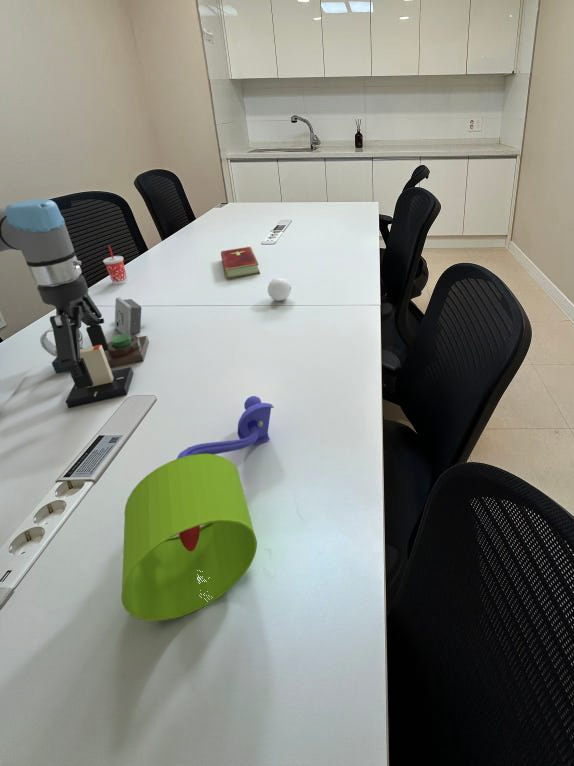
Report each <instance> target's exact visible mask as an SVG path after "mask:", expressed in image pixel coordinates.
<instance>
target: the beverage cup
mask: <svg viewBox="0 0 574 766" xmlns="http://www.w3.org/2000/svg"><path fill="white" fill-rule="evenodd" d="M107 247H108V250H109V254H110V256H109V257H106V258H104V259H103V260H102V262H103V264H104V265H105V267H106V270H107V272H108V275H109V276H110V279H111V282H112V284H113V285H122V284H124V283H126V282H128V276H127V273H126V268H125V264H124V257H123V256H122V255H113V251H112V249H111V245H108V246H107Z"/></svg>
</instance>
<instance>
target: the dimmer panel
mask: <svg viewBox="0 0 574 766" xmlns="http://www.w3.org/2000/svg"><path fill="white" fill-rule="evenodd" d="M111 372H112V375H113V377H114V379H113V381H112V382H111V383H106V384H102V385H97V386H93V387H88V388H81V389H77V388H76V385H75V383H74V384H73V386H72V388H71V390H70V392H69V394H68V396H67V397H66V400H65V403H66V406H67V408H68V409H73V408H76V407H81V406H85V405H90V404H94V403H98V402H103V401H107V400H112V399H115V398H120V397H124V396H128V393H129V390H130V386H131V383H132V380H133V377H134V371H133V368H132V366H130V367H125V368H120V369H116V370H111Z"/></svg>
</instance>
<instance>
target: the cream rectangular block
mask: <svg viewBox="0 0 574 766" xmlns="http://www.w3.org/2000/svg"><path fill="white" fill-rule="evenodd" d="M80 358H83V359H84V361H85V364H86V366H87V369H88V371H89V374H90V376H91V379H92V381H93V386H97V385H102V384H106V383H111V382H112V381H113V379H114V377H113V375H112V372H111V371H112V370H111V369H112V368H110V367H109V364H108V361H107V358H106V356H105V353H104V350H103V348H102V345H96V346H94V347H93V346H90V347H83V349H80ZM93 386H90V387H93ZM86 388H88V387H86Z"/></svg>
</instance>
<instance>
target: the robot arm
mask: <svg viewBox="0 0 574 766" xmlns="http://www.w3.org/2000/svg"><path fill="white" fill-rule="evenodd" d="M9 250H15V251H21V254H22V256H23V258H24V260H25V263H26V266H27V268H28V270H29V273H30V275H31V278H32V280H33V283H34V284H35V285H37V287H36V289H37V291H38V295H39V296H40V298H41V301H42V302H43V303H44V304H45V305H49V306H53V307H55V315H51V316H50V317H49V322H50V325H51V327H52V328H53V331H52V332H53V337H54V343H55V344H54V345H55V346H56V350H57V356H58V362H59V367H66V366H67V367H68V369H69V371H70V372H69V374H70V377H71V378H72V381H73V383H74V384H75V385H76V388H77V389H81V388H86V387H90V386H93V381H92V379H91V376H90V374H89V371H88V369H87V366H86V364H85V361H84V359H83V358H80V342H79V330H80V328H82V323H83V324H84V325H85V326H87V327H86V328H85V330H86V333H87V335H88V338H89V341H90V343H91V347H94V346H96V345H102V348H103V350H104V351H107V350H109V347H108V344H107V343H108V342H107V338H106V336H105V333H104V330H103V328H102V325H101V324H105V319H104V317H102V316H103V315H102V314H103V313H101V311H100V310H99V308H98V307H97V305H96V303H95V302H94V300H93V299H92V298H91V296H90V294H89V293H88V292H89V287H88V284H87V281H86V279H85V276H84V275H83V274H82V268H81V265H82V261H81V260H78V258H77V255H76V253H75V249H74V245H73V242H72V240H71V237H70V234H69V231H68V228H67V226H66V222H65V218H64V217H63V215H62V213H61V211H60V209H59V206H58V205H57V203H56V202H55V201H53V200H52V199H45V198H41V199H29V200H28V199H27V200H22V201H21V200H20V201H17V202H13V203H11V204H8V205H6V207H5V208H0V253H2V252H4V251H9ZM57 356H56V357H57Z"/></svg>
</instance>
